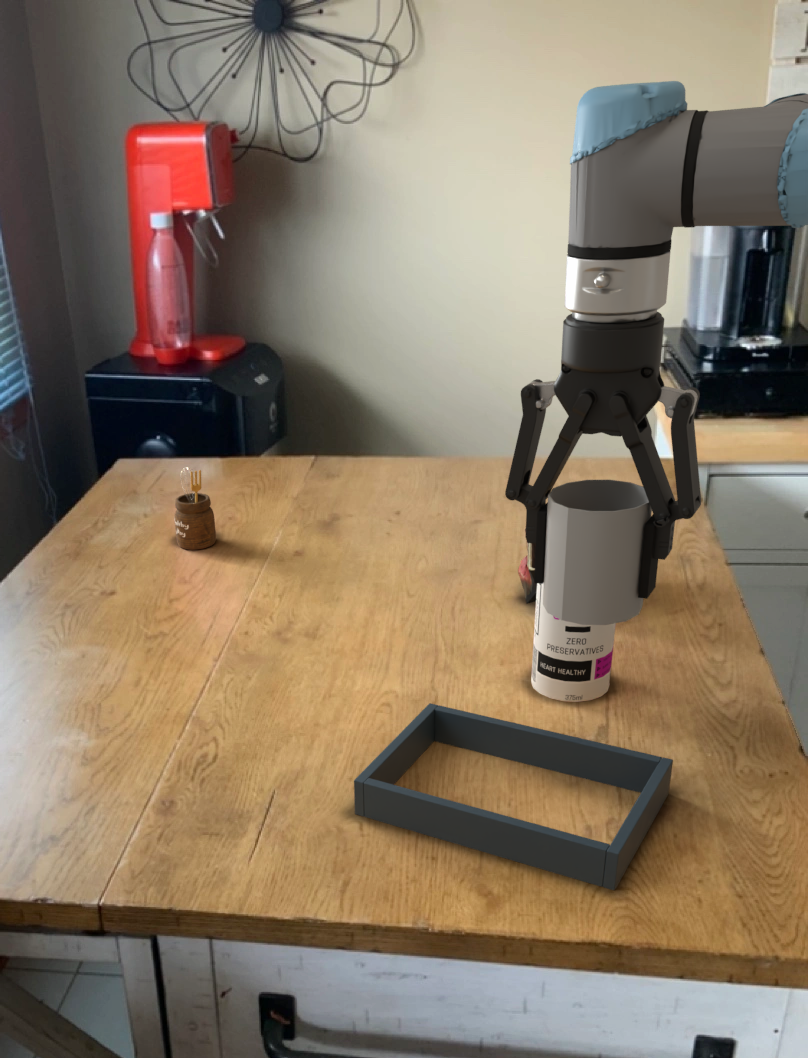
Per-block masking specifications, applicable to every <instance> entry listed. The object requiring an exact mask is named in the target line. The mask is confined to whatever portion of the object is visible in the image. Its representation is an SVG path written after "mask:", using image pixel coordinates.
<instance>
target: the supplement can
mask: <svg viewBox="0 0 808 1058" xmlns="http://www.w3.org/2000/svg"><path fill="white" fill-rule="evenodd" d="M543 589H544V583H543V584H539V583H537V593H536V602H535V610H534V611H535V612H534V627H533V632H534V633H533V641H532V642H533V643H532V658H531V660H532V661H531V675H530V676H531V677H530V683H531V686H532V689H533V690H535V691H536V692H537V693H538V694H540V695H542V696H543V697H546V698H549V699H552V700H556V701H561V702H571V703H572V702H573V703H580V702H589V701H593V700H595V699H599V698H601V697H603V696H604V695H605V694H606V693H608V692H609V688H610V684H611V675H612V665H613V656H614V655H613V653H614V645H615V634H616V624H617V623H614V624H609V625H582V624H577V623H572V622H568V621H563V620H560V619H558V618H556V617H555V616H553V615H551V614H549V613H547V611H546V609H545V607H544V606H543Z"/></svg>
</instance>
